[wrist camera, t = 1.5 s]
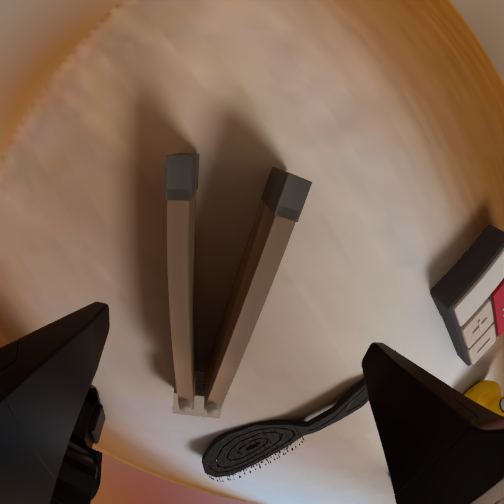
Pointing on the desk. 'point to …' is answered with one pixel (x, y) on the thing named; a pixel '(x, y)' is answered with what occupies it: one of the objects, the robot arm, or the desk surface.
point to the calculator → (474, 296)
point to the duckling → (487, 396)
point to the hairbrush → (272, 436)
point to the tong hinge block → (198, 399)
